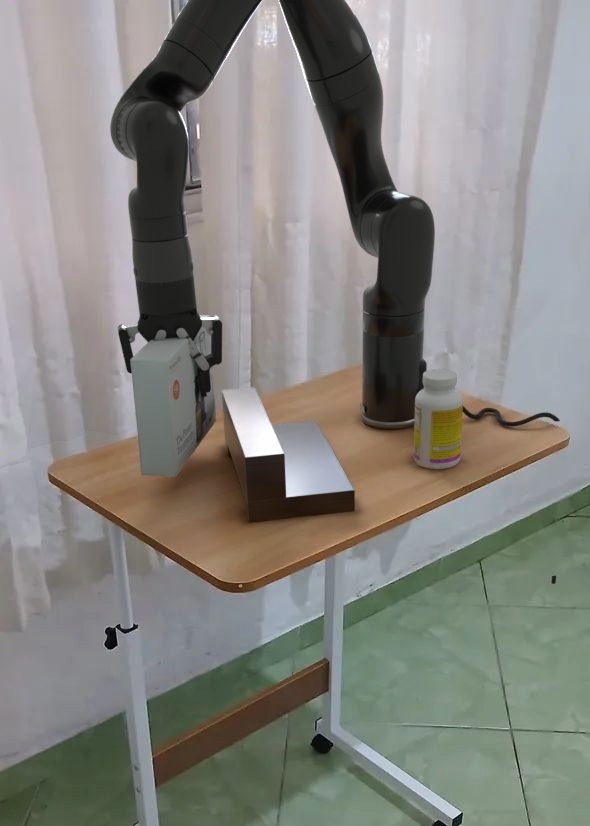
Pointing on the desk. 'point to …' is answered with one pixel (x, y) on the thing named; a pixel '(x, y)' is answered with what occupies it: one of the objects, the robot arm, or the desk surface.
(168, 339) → the skincare box
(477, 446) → the desk surface
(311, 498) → the metal step block
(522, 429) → the desk surface
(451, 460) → the supplement bottle
